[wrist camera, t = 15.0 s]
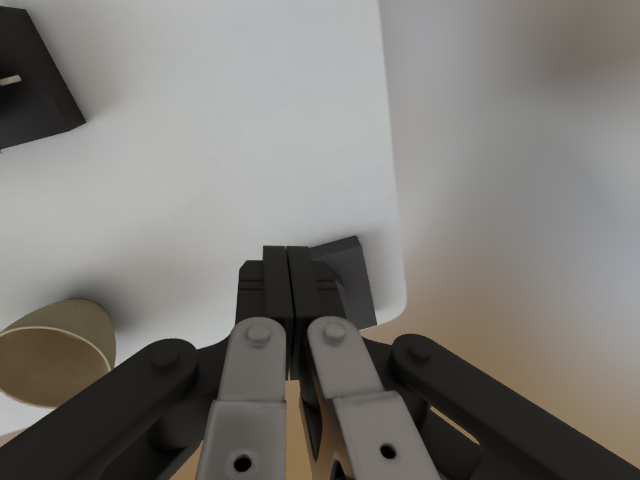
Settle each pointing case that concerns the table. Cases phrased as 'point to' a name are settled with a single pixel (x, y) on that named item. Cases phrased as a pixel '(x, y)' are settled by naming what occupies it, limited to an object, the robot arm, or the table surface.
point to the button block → (349, 278)
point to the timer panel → (30, 85)
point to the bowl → (56, 353)
